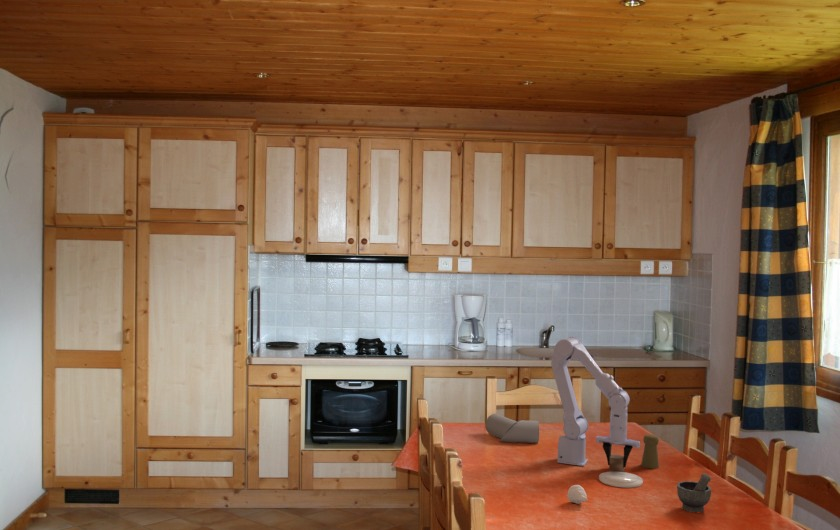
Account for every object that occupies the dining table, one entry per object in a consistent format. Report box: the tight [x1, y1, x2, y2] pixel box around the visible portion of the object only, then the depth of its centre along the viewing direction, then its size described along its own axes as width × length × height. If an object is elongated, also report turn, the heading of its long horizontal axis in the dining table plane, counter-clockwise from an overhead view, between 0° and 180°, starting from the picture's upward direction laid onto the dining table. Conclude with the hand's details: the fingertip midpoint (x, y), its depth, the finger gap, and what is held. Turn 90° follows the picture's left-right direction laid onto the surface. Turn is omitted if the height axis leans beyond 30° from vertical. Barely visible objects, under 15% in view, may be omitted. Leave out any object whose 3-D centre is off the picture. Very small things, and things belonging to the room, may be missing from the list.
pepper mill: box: [641, 434, 660, 470], centre depth 273 cm, size 6×6×11 cm
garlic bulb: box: [567, 484, 588, 505], centre depth 232 cm, size 6×6×5 cm
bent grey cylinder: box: [485, 413, 540, 444], centre depth 305 cm, size 18×11×20 cm
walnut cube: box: [608, 453, 626, 472], centre depth 268 cm, size 4×4×4 cm
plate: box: [598, 471, 644, 489], centre depth 256 cm, size 14×14×1 cm
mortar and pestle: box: [676, 473, 712, 513], centre depth 230 cm, size 11×9×12 cm
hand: (617, 465), depth 268 cm, fingers closed on walnut cube, 4 cm apart
